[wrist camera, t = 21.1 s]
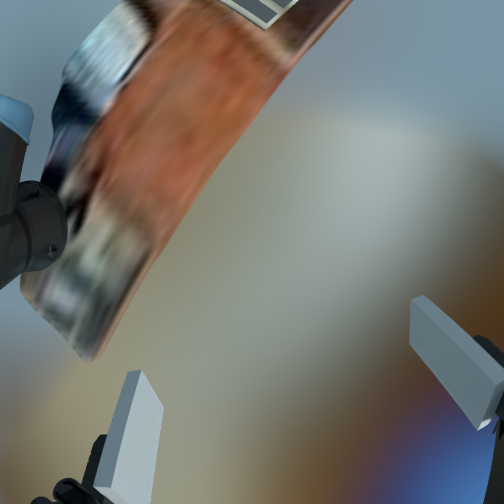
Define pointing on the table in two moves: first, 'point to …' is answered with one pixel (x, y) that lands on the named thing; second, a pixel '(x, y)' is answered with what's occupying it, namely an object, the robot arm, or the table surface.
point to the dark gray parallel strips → (261, 8)
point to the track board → (270, 3)
